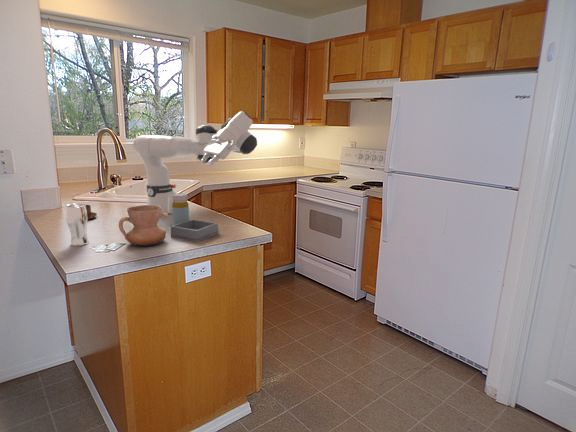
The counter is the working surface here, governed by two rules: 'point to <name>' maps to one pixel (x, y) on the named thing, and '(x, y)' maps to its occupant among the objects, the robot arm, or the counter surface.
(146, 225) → the ceramic jug
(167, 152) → the robot arm
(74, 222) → the beer glass
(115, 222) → the counter surface
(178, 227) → the box
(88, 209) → the cup and saucer
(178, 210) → the bottle
